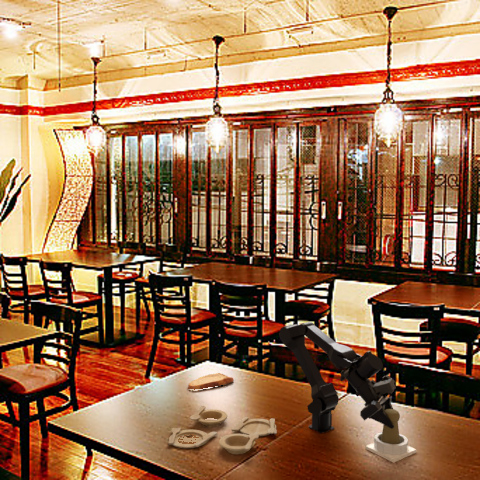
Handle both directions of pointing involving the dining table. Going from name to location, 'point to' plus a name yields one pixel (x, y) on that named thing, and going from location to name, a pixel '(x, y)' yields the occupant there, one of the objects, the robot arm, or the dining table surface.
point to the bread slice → (210, 381)
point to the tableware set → (229, 442)
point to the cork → (392, 434)
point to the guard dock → (389, 457)
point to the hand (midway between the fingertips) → (395, 424)
